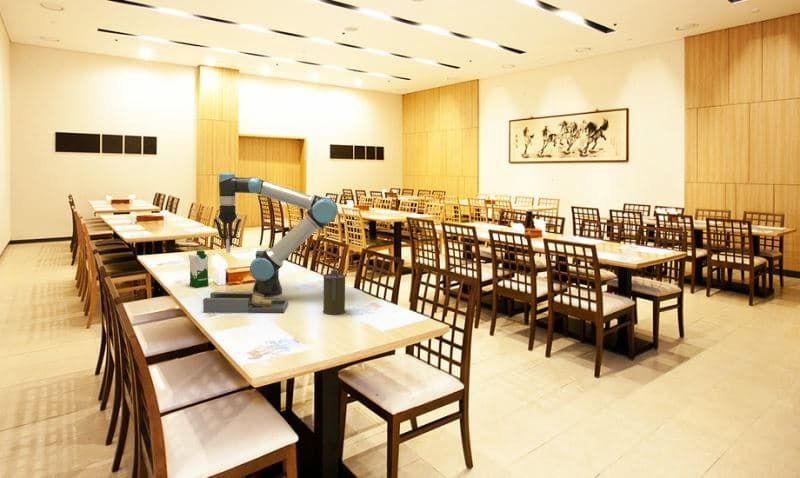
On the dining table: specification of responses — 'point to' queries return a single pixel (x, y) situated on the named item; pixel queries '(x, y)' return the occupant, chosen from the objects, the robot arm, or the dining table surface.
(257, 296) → the brass block
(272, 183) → the robot arm
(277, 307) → the tray
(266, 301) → the brass block
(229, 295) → the slot plate
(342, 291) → the canister
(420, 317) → the dining table surface
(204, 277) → the milk carton
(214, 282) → the dining table surface
